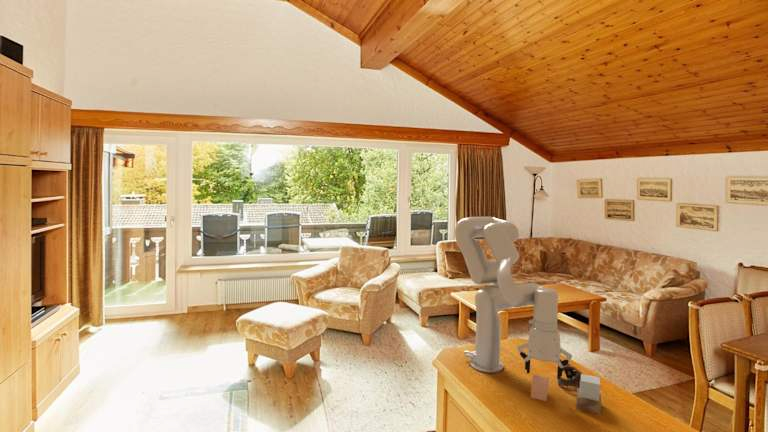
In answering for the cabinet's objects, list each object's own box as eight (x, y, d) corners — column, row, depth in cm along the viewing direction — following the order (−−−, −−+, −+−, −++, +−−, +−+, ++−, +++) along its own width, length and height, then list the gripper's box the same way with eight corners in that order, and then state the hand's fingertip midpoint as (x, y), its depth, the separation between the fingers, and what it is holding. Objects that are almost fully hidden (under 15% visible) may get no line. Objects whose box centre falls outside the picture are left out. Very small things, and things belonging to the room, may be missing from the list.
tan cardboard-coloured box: (576, 409, 135) (577, 397, 135) (576, 399, 142) (577, 388, 141) (600, 415, 132) (601, 403, 132) (599, 404, 139) (600, 393, 138)
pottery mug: (593, 394, 145) (586, 377, 143) (566, 403, 147) (559, 385, 145) (580, 370, 157) (573, 354, 154) (555, 378, 159) (548, 362, 156)
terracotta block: (530, 397, 141) (531, 380, 141) (532, 390, 146) (533, 374, 145) (546, 401, 139) (547, 384, 139) (547, 394, 144) (548, 377, 143)
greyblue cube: (580, 397, 135) (581, 380, 135) (579, 389, 140) (580, 373, 140) (599, 401, 133) (600, 384, 133) (597, 393, 138) (599, 377, 138)
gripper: (516, 324, 140) (515, 374, 141) (572, 332, 133) (570, 385, 134) (519, 318, 147) (518, 365, 148) (573, 325, 140) (571, 375, 141)
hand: (543, 374), depth 141 cm, fingers open, 9 cm apart
